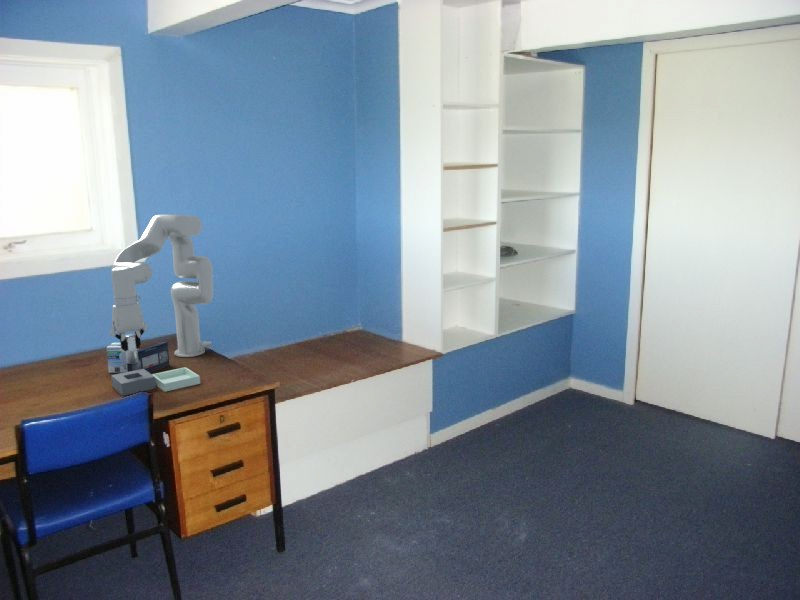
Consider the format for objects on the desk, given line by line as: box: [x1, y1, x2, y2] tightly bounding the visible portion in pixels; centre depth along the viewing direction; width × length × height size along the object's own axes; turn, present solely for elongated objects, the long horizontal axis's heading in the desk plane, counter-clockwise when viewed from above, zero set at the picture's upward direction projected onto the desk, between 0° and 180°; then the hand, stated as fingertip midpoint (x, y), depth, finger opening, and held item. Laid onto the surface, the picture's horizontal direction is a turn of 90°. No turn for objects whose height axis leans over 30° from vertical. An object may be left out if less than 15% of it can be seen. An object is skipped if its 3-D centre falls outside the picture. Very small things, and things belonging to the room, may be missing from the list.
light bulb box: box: [106, 342, 140, 374], centre depth 273 cm, size 11×7×11 cm, turn 92°
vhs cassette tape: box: [127, 341, 170, 374], centre depth 272 cm, size 18×3×10 cm, turn 147°
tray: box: [151, 367, 201, 392], centre depth 259 cm, size 14×14×3 cm
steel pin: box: [124, 333, 138, 364], centre depth 252 cm, size 4×4×10 cm
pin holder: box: [110, 369, 157, 396], centre depth 254 cm, size 12×12×4 cm
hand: (131, 348), depth 252 cm, fingers closed on steel pin, 4 cm apart
